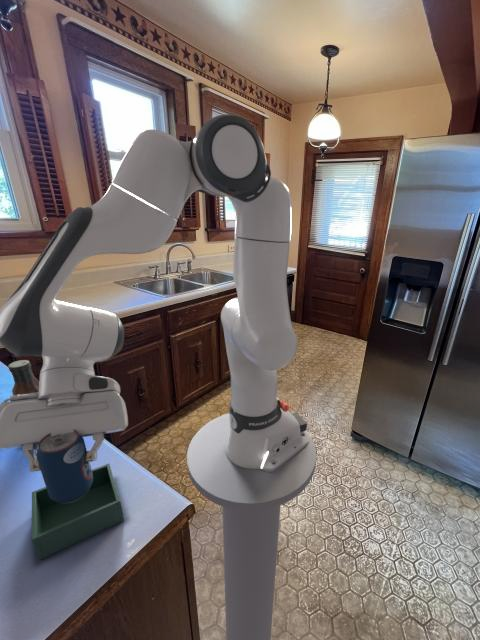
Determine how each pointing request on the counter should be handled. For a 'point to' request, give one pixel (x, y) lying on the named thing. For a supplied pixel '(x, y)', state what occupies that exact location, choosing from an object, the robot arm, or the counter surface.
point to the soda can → (64, 466)
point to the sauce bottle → (23, 378)
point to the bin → (75, 514)
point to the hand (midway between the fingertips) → (64, 465)
